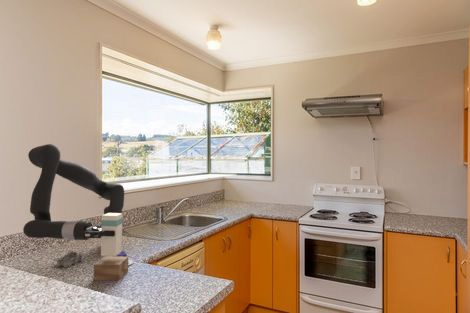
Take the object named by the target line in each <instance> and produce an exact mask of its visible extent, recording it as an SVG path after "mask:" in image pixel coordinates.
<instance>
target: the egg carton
mask: <svg viewBox="0 0 470 313" xmlns="http://www.w3.org/2000/svg"><path fill="white" fill-rule="evenodd" d="M84 255H85V254H83V253H82V254H81V253H79V254H78V252H76V251H74V250H71V251H68V252H67V254H64V255H63V256H61V257H58V259H55V261H57V265H56V266H57V267H60V266H63V268H64V267H65V268H66V267H72V265H73V264H74V265H76V264H78V262H82V261H83V260H84V259H83V256H84Z"/></svg>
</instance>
